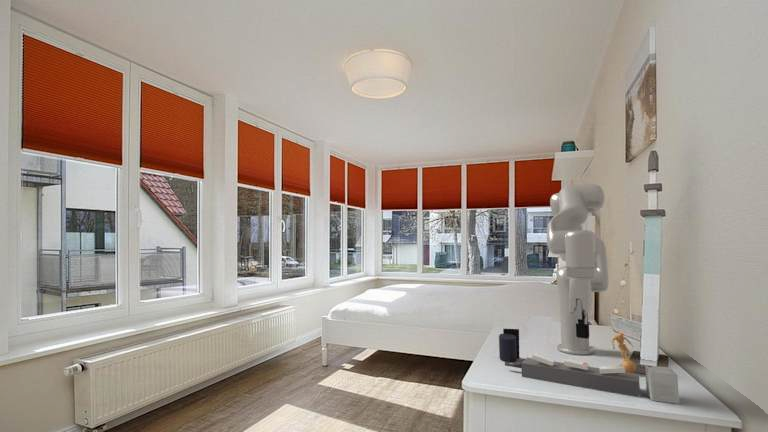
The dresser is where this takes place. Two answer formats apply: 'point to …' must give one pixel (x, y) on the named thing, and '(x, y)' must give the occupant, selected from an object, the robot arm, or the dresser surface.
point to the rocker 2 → (576, 364)
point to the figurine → (627, 363)
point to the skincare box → (662, 384)
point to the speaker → (509, 345)
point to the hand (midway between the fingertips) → (582, 337)
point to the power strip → (580, 377)
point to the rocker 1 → (543, 359)
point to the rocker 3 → (612, 369)
